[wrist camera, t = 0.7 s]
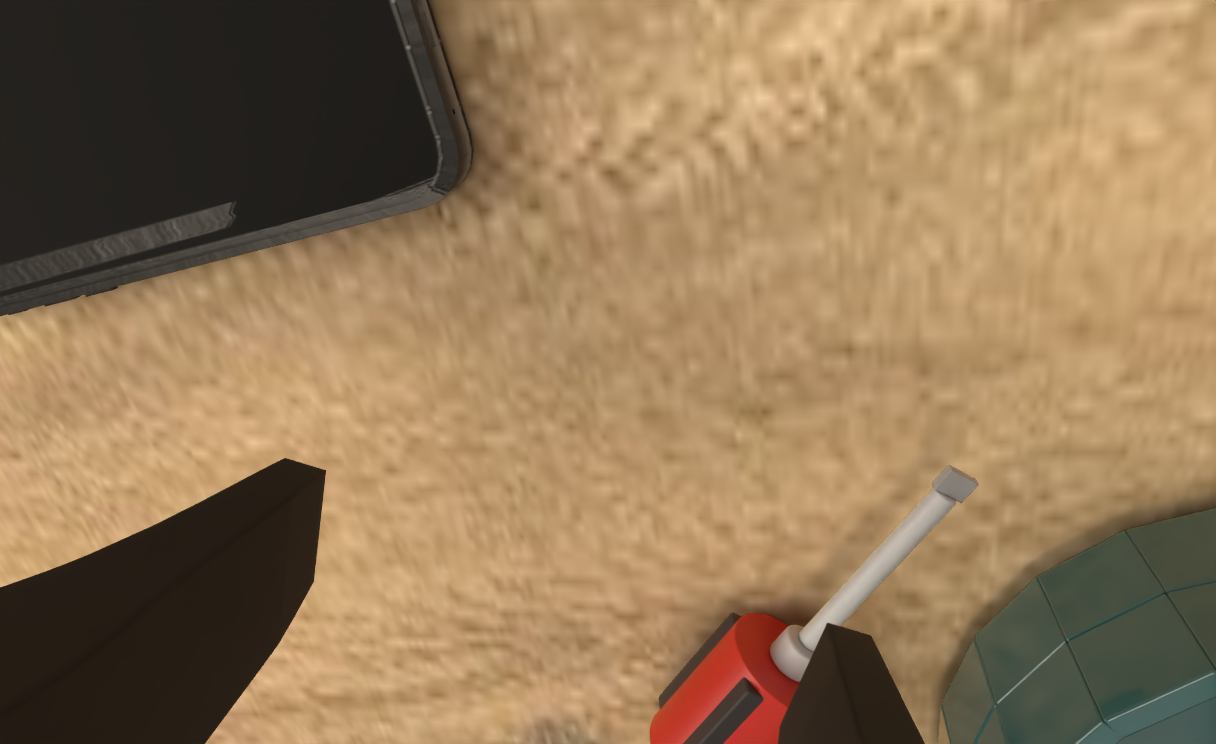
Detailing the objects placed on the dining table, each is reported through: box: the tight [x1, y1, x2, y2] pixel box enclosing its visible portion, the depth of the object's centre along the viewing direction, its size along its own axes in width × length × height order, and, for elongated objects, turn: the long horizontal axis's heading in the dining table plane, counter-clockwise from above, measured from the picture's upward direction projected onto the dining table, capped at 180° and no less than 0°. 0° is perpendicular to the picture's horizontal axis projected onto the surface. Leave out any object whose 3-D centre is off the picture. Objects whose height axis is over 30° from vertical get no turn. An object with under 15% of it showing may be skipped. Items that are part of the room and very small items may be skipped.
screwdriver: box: [650, 465, 979, 744], centre depth 23 cm, size 11×3×3 cm, turn 149°
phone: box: [0, 0, 473, 316], centre depth 22 cm, size 8×1×15 cm
